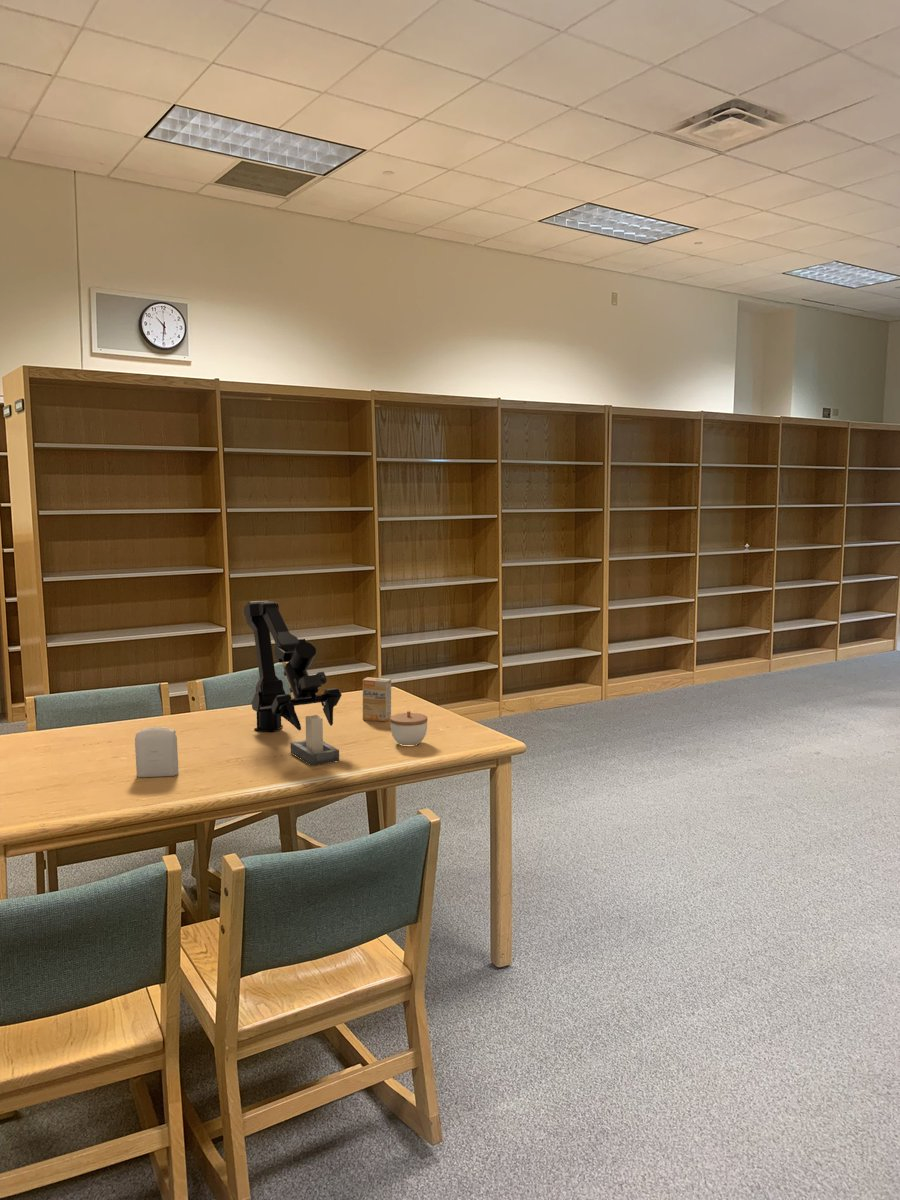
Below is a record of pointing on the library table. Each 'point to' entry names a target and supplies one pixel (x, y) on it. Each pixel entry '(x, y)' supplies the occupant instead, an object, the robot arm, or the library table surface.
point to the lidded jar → (408, 727)
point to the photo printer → (156, 752)
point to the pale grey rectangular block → (314, 733)
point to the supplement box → (376, 699)
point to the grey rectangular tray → (314, 758)
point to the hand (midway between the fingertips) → (316, 727)
